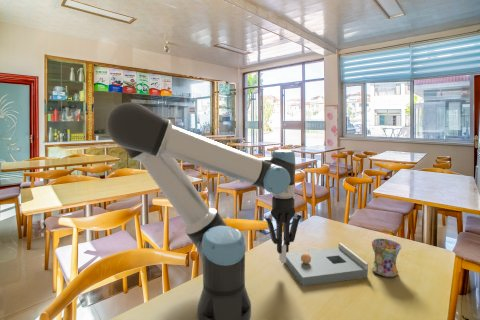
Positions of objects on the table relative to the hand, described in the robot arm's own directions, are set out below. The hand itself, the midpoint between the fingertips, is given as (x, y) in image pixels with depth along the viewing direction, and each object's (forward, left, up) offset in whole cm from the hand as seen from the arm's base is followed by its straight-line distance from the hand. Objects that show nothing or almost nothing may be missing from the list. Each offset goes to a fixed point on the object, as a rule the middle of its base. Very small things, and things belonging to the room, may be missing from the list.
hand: (282, 261), depth 102 cm
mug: (+36, -6, -5) cm, 37 cm away
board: (+16, 0, -5) cm, 16 cm away
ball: (+9, 0, -2) cm, 9 cm away
